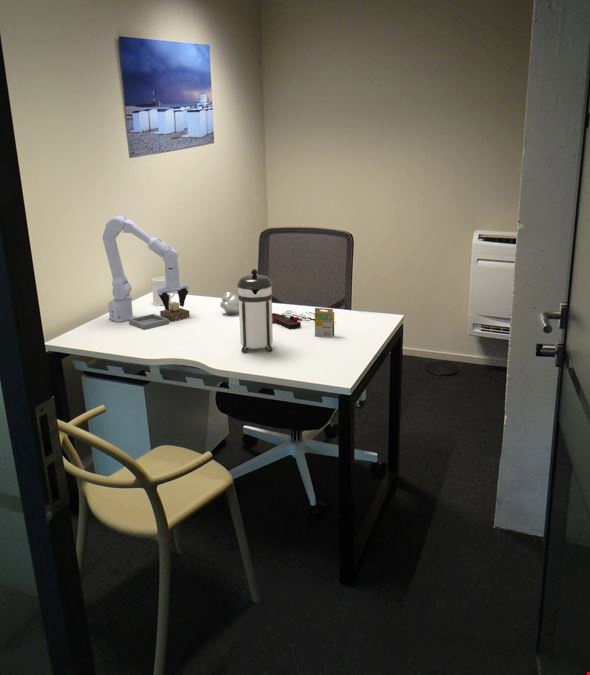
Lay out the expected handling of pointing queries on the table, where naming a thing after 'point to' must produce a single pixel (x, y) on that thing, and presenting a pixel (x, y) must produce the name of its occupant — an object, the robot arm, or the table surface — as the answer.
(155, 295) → the mug
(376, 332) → the table surface
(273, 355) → the table surface
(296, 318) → the digital clamp meter
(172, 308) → the pin
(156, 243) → the robot arm
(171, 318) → the block
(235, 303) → the white piggy bank
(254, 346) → the coffee press
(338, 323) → the table surface
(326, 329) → the crayon box
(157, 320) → the tray
